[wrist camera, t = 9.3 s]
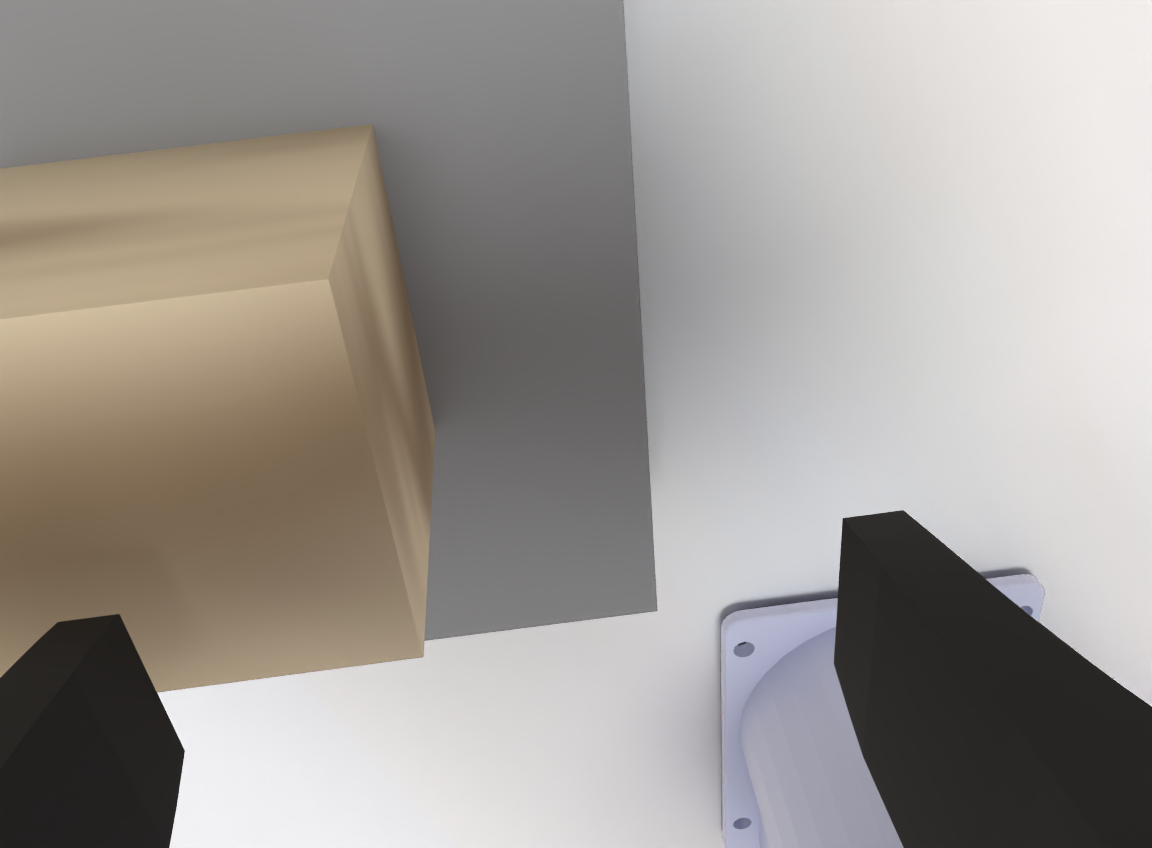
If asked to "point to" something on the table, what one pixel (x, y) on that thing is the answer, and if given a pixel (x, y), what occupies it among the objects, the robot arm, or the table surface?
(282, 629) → the birch cube
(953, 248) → the table surface
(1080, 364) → the table surface
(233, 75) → the flat grey base plate
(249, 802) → the table surface
